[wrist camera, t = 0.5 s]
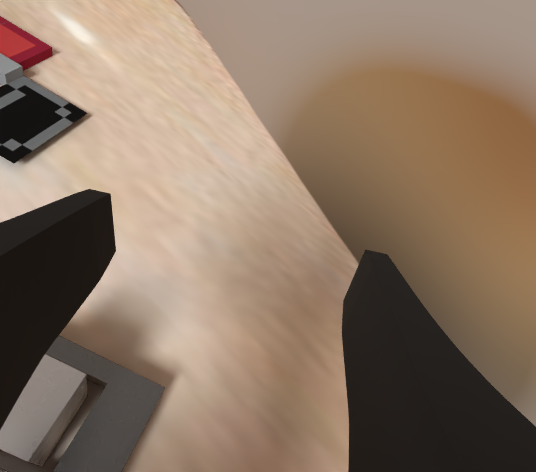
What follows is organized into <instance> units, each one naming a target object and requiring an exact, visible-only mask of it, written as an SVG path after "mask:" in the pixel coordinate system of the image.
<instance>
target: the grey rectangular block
mask: <svg viewBox="0 0 536 472" xmlns="http://www.w3.org/2000/svg"><path fill="white" fill-rule="evenodd" d="M87 396H88V395H87V376H86V374H85V373H83V372H81V371H79V370H77V369H75V368H73V367H71V366H69V365H67V364H64V363H62V362H60V361H58V360H56V359H54V358H52V357H50V356H48V355H46V354H45V355H44V357H43V358H42V360H41V361H40V363H39V365H38V366H37V368H36V370H35V371H34V373H33V374H32V376H31V378H30V379H29V381H28V383H27V384H26V386H25V388H24V389H23V391H22V393H21V395H20V396H19V398H18V400H17V402H16V403H15V405H14V407H13V409H12V410H11V412H10V414H9V416H8V417H7V419H6V421H5V423H4V425H3V426H2V428H1V430H0V449H1V450H3V451H5V452H7V453H10V454H12V455H14V456H16V457H18V458H21V459H23V460H25V461H27V462H30V463H34V464H37V465H41V466H43V464H44V463H45V461H46V459H47V458H48V456H49V455H50V453H51V452H52V450H53V449H54V447H55V445H56V444H57V442H58V441H59V439H60V438H61V436H62V435H63V433H64V431H65V430H66V428H67V427H68V425H69V424H70V422H71V421H72V419H73V417H74V416H75V414H76V413H77V411H78V410H79V408H80V407H81V405H82V403H83V402H84V400H85V399H86V397H87Z"/></svg>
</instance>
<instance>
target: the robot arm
mask: <svg viewBox="0 0 536 472" xmlns="http://www.w3.org/2000/svg"><path fill="white" fill-rule="evenodd" d="M115 252H116V247H115V236H114V225H113V215H112V204H111V194H109V193H105V192H100V191H96V190H91V189H88V190H84V191H81V192H78V193H76V194H73V195H70V196H68V197H65V198H63V199H60V200H57V201H55V202H52V203H50V204H47V205H45V206H42V207H40V208H37V209H35V210H32V211H30V212H27V213H25V214H22V215H20V216H17V217H15V218H12V219H9V220H7V221H4V222H1V223H0V430H1V428H2V426H3V425H4V423H5V421H6V419H7V417H8V416H9V414H10V412H11V410H12V409H13V407H14V405H15V403H16V402H17V400H18V398H19V396H20V395H21V393H22V391H23V389H24V388H25V386H26V384H27V383H28V381H29V379H30V378H31V376H32V374H33V373H34V371H35V370H36V368H37V366H38V365H39V363H40V361H41V360H42V358H43V357H44V355H45V354H46V352H47V351H48V349H49V348H50V346H51V345H52V343H53V342H54V341H55V340H56V338H57V337H58V336H59V334H60V333H61V332H62V330H63V329H64V328H65V326H66V325H67V324H68V322H69V321H70V320H71V318H72V317H73V316H74V314H75V313H76V312H77V310H78V309H79V308H80V306H81V305H82V304H83V302H84V301H85V300H86V298H87V297H88V296H89V294H90V293H91V292H92V290H93V289H94V288H95V286H96V285H97V283H98V282H99V281H100V279H101V277H102V276H103V274H104V272H105V270H106V269H107V267H108V265H109V263H110V261H111V259H112V257H113V255H114V253H115ZM342 340H343V353H344V364H345V376H346V387H347V398H348V411H349V472H536V427H535V426H534V425H533V424H532V423H531V422H530V421H529V420H528V419H527V418H526V417H525V416H524V415H522V414H521V413H520V412H519V411H518V410H517V409H516V408H515V407H514V406H513V405H512V404H511V403H510V402H509V401H507V400H506V399H505V398H504V397H503V396H502V395H501V394H500V393H499V392H498V391H497V390H496V389H495V388H494V387H493V386H492V385H491V384H490V383H489V382H488V381H487V380H486V379H485V378H484V377H483V376H482V374H481V373H480V372H479V371H478V370H477V369H476V368H475V367H474V366H473V365H472V364H471V363H470V362H469V361H468V360H467V359H466V357H465V356H464V355H463V354H462V353H461V352H460V351H459V349H458V348H457V347H456V346H455V345H454V344H453V342H452V341H451V340H450V339H449V338H448V336H447V335H446V334H445V333H444V331H443V330H442V329H441V328H440V327H439V325H438V324H437V323H436V321H435V320H434V319H433V318H432V316H431V315H430V314H429V313H428V311H427V310H426V308H425V307H424V306H423V304H422V303H421V302H420V300H419V299H418V298H417V296H416V295H415V293H414V292H413V291H412V289H411V288H410V286H409V285H408V283H407V282H406V281H405V279H404V278H403V276H402V275H401V273H400V272H399V271H398V269H397V268H396V266H395V265H394V263H393V262H392V261H391V259H390V258H389V256H388V255H387V254H383V253H378V252H373V251H369V250H365V252H364V254H363V256H362V259H361V261H360V263H359V266H358V268H357V270H356V273H355V275H354V277H353V280H352V282H351V284H350V287H349V289H348V291H347V294H346V296H345V298H344V301H343V318H342Z"/></svg>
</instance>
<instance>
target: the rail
mask: <svg viewBox="0 0 536 472" xmlns="http://www.w3.org/2000/svg"><path fill="white" fill-rule="evenodd" d="M46 355H48V356H50V357H52V358H54V359H56V360H58V361H60V362H62V363H64V364H67V365H69V366H71V367H73V368H75V369H77V370H79V371H81V372H83V373H85V374H86V376H87V379H88V380H90V381H92V382H94V383H96V384H98V385H100V386H102V387H104V388H105V389H104V390H103V392H102V394H101V395H100V397H99V398H98V400H97V402H96V403H95V405H94V406H93V408H92V410H91V411H90V413H89V415H88V416H87V418H86V419H85V421H84V423H83V424H82V426H81V427H80V429H79V431H78V432H77V434H76V435H75V437H74V439H73V440H72V442H71V444H70V445H69V447H68V448H67V450H66V452H65V453H64V455H63V456H62V458H61V460H60V461H59V463H58V464H57V466H56V468H55V469H54V471H53V472H122V470H123V468H124V466H125V464H126V462H127V460H128V458H129V457H130V455H131V453H132V451H133V449H134V447H135V445H136V443H137V441H138V439H139V437H140V435H141V433H142V431H143V429H144V427H145V425H146V424H147V422H148V420H149V418H150V416H151V414H152V412H153V410H154V408H155V406H156V404H157V402H158V400H159V398H160V396H161V394H162V392H163V391H164V389H165V388H164V387H162V386H160V385H158V384H156V383H154V382H152V381H150V380H148V379H146V378H144V377H142V376H140V375H138V374H136V373H134V372H132V371H130V370H128V369H126V368H124V367H122V366H120V365H118V364H116V363H114V362H112V361H110V360H108V359H106V358H104V357H102V356H100V355H97V354H95V353H93V352H91V351H89V350H87V349H85V348H83V347H81V346H79V345H77V344H75V343H73V342H71V341H69V340H67V339H65V338H63V337H61V336H58V337H57V338H56V340H55V341H54V342H53V343H52V345H51V346H50V348H49V349H48V351H47V352H46ZM0 472H8V471H6V470H3V469H1V468H0Z"/></svg>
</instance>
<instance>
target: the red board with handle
mask: <svg viewBox="0 0 536 472" xmlns="http://www.w3.org/2000/svg"><path fill="white" fill-rule="evenodd" d="M51 56H53V54H52V47H50V46H49V45H47V44H45V43H44V42H42V41H40V40H39V39H37V38H35V37H34V36H32V35H30V34H29V33H27V32H25V31H24V30H22V29H20V28H19V27H17V26H16V25H14V24H12V23H11V22H9V21H7V20H6V19H4V18H2V17H1V16H0V85H2V86H1V87H0V156H2V157H4V158H5V159H7V160H9V161H11V162H12V163H15V162H17V161H18V160H20V159H21V158H23V157H24V156H26V155H27V154H29V153H30V152H31V151H33V150H34V149H36V148H37V147H39V146H40V145H42V144H43V143H45V142H46V141H48V140H49V139H51V138H52V137H53V136H55V135H56V134H58V133H59V132H61V131H62V130H64V129H65V128H67V127H68V126H70V125H71V124H73V123H74V122H76V121H77V120H78V119H80V118H81V117H83V116H84V115H86V114H87V113H86V112H84V111H83V110H81V109H79V108H78V107H76V106H74V105H73V104H71V103H69V102H68V101H66V100H64V99H63V98H61V97H59V96H58V95H56V94H54V93H52V92H51V91H49V90H47V89H46V88H44V87H42V86H41V85H39V84H37V83H36V82H34V81H32V80H31V79H29V78H27V77H26V76H24V75H23V70H25V69H27V68H29V67H31V66H33V65H35V64H37V63H39V62H41V61H43V60H45V59H47V58H49V57H51Z"/></svg>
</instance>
